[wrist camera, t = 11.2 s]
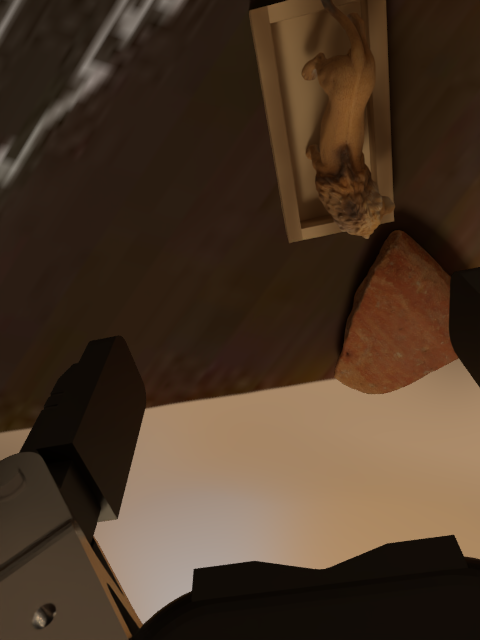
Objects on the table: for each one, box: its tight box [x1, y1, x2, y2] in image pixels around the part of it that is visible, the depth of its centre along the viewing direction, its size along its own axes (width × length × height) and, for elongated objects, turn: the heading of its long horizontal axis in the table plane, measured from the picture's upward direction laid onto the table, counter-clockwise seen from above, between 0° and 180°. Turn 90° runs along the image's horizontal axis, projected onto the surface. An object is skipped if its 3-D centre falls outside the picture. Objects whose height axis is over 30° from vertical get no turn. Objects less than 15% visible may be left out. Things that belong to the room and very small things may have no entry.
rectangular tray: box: [249, 0, 394, 243], centre depth 35 cm, size 9×17×3 cm, turn 12°
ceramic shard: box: [334, 230, 458, 394], centre depth 45 cm, size 15×6×15 cm
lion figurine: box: [301, 0, 395, 239], centre depth 31 cm, size 15×5×9 cm, turn 15°
